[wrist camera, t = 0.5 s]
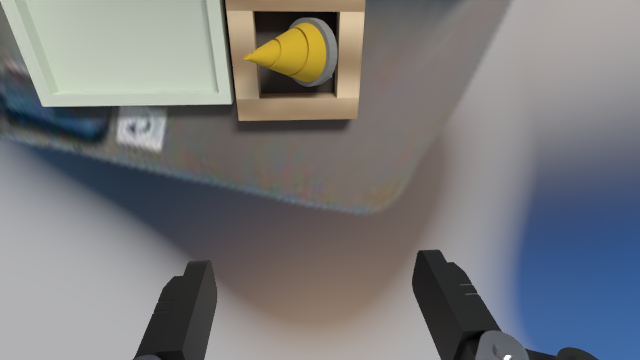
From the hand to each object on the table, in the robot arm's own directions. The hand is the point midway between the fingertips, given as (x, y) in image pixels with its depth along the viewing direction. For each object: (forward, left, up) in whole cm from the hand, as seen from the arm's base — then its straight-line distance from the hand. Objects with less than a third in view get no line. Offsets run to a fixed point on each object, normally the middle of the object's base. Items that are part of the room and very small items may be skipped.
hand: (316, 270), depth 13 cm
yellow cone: (-5, 0, -22) cm, 23 cm away
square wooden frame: (-5, 0, -22) cm, 23 cm away
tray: (-9, -14, -22) cm, 28 cm away
